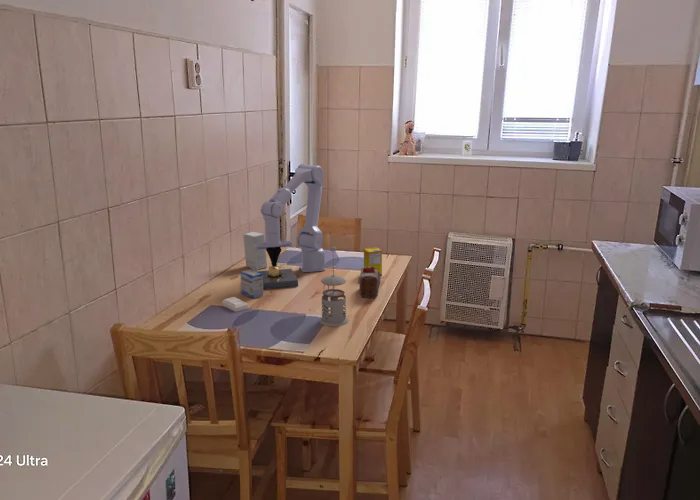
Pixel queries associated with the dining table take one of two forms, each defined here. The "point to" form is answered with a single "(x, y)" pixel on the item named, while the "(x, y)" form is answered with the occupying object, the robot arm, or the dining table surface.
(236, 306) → the soap bar
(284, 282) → the jig
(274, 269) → the cylinder
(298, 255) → the dining table surface
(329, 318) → the french press
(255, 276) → the medicine box
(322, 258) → the robot arm
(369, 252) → the supplement box
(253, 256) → the skincare box
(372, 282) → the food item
